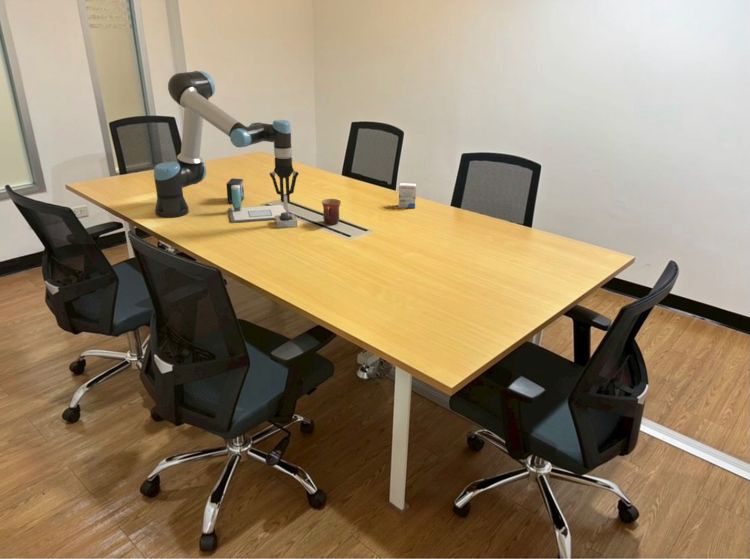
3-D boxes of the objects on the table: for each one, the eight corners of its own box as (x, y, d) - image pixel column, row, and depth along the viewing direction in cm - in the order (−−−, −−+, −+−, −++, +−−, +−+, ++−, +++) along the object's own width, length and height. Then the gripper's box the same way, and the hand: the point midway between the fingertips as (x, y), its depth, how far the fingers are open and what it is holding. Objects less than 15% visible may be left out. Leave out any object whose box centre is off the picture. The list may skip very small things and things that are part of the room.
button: (281, 222, 258) (281, 215, 256) (280, 219, 261) (280, 212, 260) (291, 221, 259) (291, 215, 257) (289, 218, 263) (289, 212, 261)
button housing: (277, 228, 256) (277, 221, 254) (274, 221, 264) (274, 215, 262) (297, 226, 258) (297, 220, 257) (294, 220, 266) (293, 214, 265)
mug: (324, 218, 269) (324, 198, 265) (342, 220, 268) (342, 199, 263) (317, 227, 258) (317, 205, 254) (336, 229, 257) (336, 207, 253)
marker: (233, 212, 271) (231, 187, 266) (232, 209, 275) (230, 185, 270) (242, 211, 273) (240, 186, 268) (241, 208, 276) (239, 184, 271)
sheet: (231, 223, 260) (231, 220, 260) (228, 209, 277) (228, 207, 277) (292, 218, 268) (292, 216, 268) (285, 206, 285) (285, 203, 285)
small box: (240, 204, 286) (238, 184, 282) (227, 203, 286) (225, 183, 282) (245, 198, 296) (243, 178, 291) (232, 197, 296) (230, 178, 291)
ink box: (415, 205, 292) (416, 183, 287) (414, 208, 287) (416, 186, 282) (398, 204, 293) (399, 182, 288) (398, 207, 288) (399, 185, 283)
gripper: (269, 159, 243) (272, 212, 253) (299, 158, 246) (301, 210, 256) (267, 155, 249) (270, 207, 259) (296, 154, 253) (298, 205, 263)
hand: (285, 208), depth 258 cm, fingers closed
